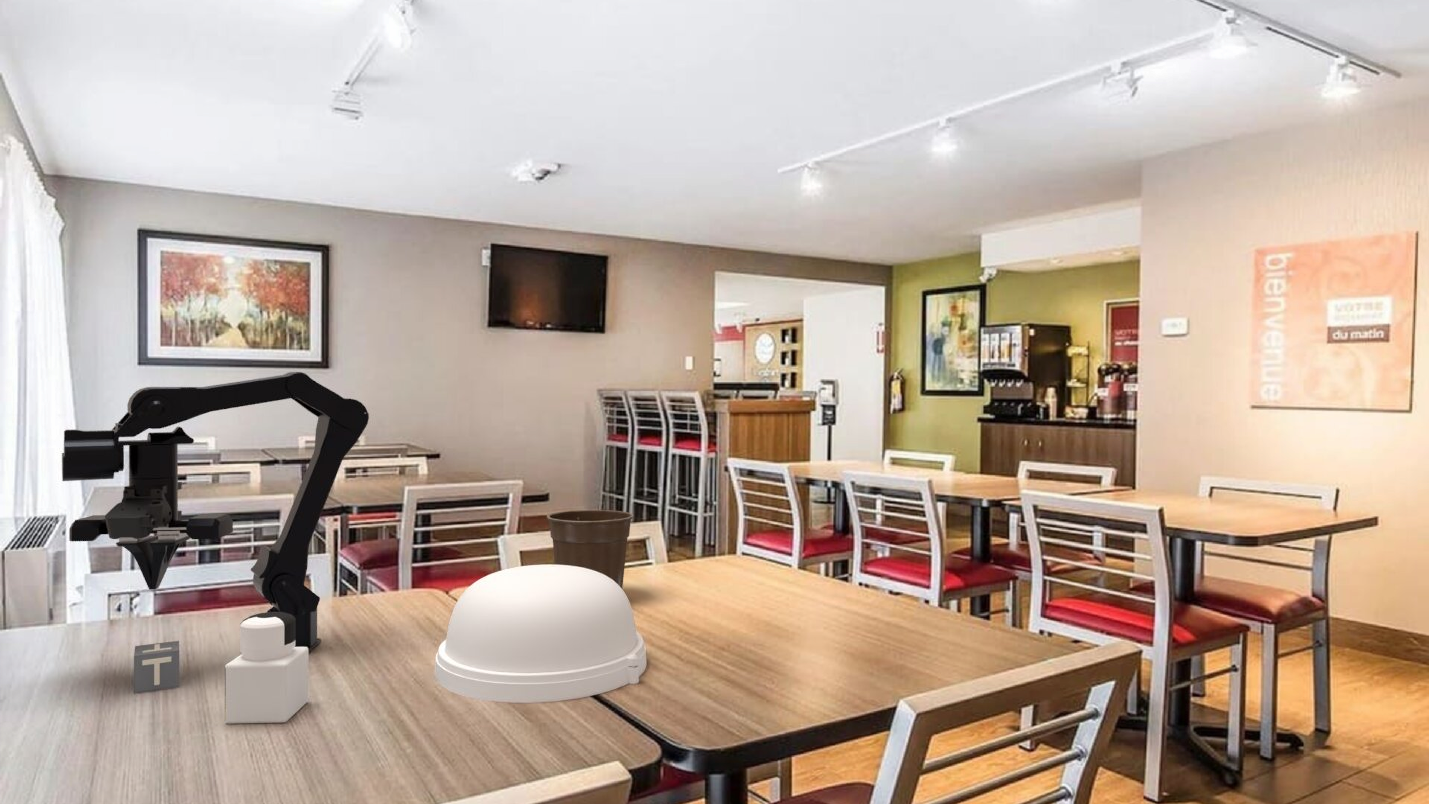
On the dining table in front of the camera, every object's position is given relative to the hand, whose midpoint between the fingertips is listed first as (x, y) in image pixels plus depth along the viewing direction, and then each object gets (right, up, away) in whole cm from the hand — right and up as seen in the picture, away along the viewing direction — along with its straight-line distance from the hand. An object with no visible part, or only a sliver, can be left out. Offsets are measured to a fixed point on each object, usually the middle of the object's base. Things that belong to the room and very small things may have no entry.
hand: (153, 588), depth 122 cm
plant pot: (+54, -12, +44) cm, 71 cm away
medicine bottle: (+23, -12, -15) cm, 30 cm away
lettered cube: (+4, -12, -5) cm, 13 cm away
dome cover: (+53, -13, +5) cm, 55 cm away
